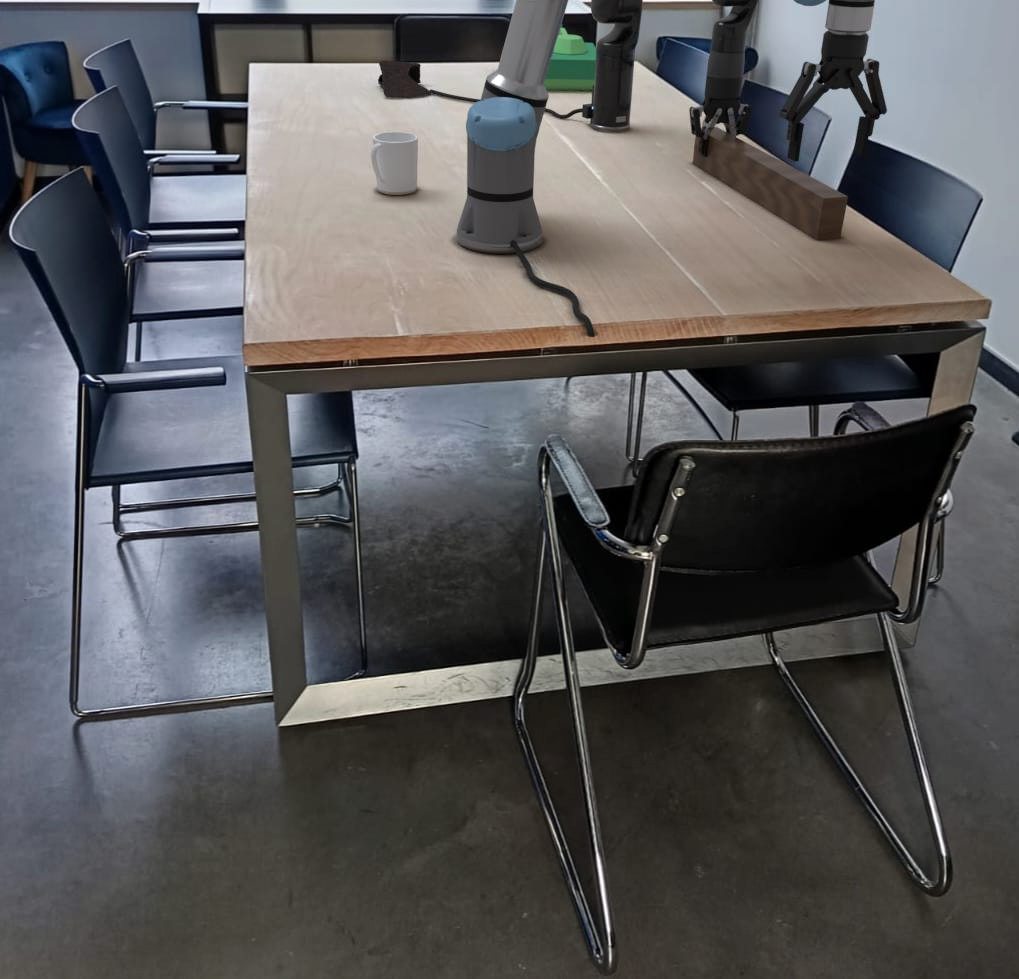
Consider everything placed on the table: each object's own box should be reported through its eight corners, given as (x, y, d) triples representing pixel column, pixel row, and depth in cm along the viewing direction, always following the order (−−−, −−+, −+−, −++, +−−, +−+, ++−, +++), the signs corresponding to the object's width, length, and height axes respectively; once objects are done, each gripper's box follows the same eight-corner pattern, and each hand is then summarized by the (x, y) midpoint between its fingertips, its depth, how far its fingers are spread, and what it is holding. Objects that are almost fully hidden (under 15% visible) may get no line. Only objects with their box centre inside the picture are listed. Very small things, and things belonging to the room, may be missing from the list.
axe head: (443, 87, 294) (392, 77, 287) (436, 115, 299) (385, 106, 292) (421, 62, 307) (371, 52, 300) (414, 89, 311) (365, 80, 304)
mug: (396, 180, 226) (394, 129, 221) (428, 188, 221) (427, 137, 216) (358, 191, 219) (355, 139, 214) (389, 200, 214) (387, 147, 209)
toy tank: (590, 24, 327) (604, 45, 297) (588, 68, 333) (601, 92, 303) (531, 23, 326) (539, 44, 296) (530, 67, 332) (538, 91, 302)
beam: (840, 238, 201) (848, 196, 197) (816, 240, 200) (823, 198, 196) (712, 162, 244) (716, 126, 240) (692, 163, 243) (696, 127, 239)
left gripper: (897, 25, 193) (874, 147, 204) (770, 30, 186) (754, 156, 198) (922, 32, 187) (897, 158, 198) (792, 37, 180) (774, 167, 191)
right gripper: (747, 68, 233) (737, 149, 242) (686, 70, 230) (677, 152, 238) (764, 75, 227) (753, 158, 236) (701, 78, 223) (692, 161, 232)
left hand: (826, 157), depth 198 cm, fingers open, 13 cm apart
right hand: (715, 155), depth 237 cm, fingers closed on beam, 5 cm apart
